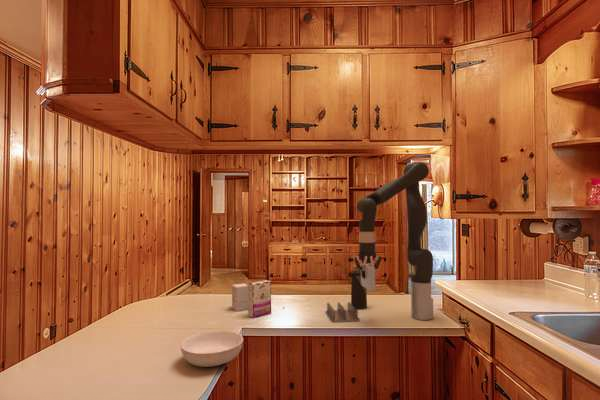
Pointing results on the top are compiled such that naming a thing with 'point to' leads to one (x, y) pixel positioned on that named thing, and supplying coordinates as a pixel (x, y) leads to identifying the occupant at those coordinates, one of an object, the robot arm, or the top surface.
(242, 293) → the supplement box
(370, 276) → the dish slab
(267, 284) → the candy bar box
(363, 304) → the container
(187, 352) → the serving bowl
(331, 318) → the dish rack
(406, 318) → the top surface
